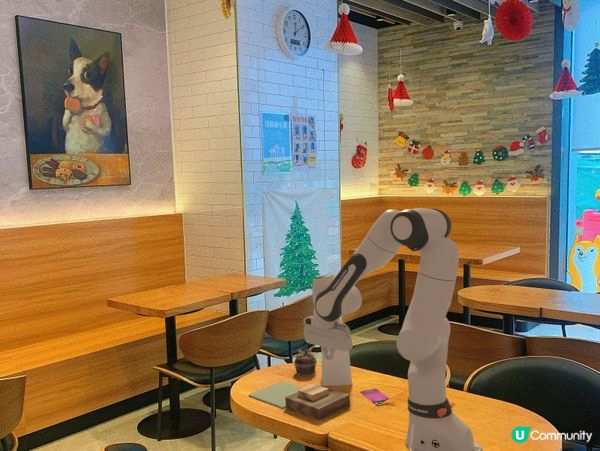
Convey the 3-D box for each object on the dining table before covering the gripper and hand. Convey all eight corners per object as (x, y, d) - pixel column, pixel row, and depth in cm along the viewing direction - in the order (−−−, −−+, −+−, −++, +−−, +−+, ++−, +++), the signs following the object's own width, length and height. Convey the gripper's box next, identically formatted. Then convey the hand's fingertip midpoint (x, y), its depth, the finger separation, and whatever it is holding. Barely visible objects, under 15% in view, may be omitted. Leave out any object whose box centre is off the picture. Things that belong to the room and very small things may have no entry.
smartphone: (377, 408, 201) (376, 405, 201) (359, 392, 216) (359, 390, 216) (395, 404, 204) (395, 402, 204) (376, 389, 218) (376, 387, 218)
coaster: (328, 393, 205) (328, 388, 205) (313, 400, 200) (313, 395, 200) (313, 388, 211) (312, 383, 211) (297, 395, 205) (297, 390, 205)
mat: (317, 393, 217) (317, 392, 217) (283, 408, 204) (282, 407, 204) (282, 382, 231) (282, 381, 231) (248, 395, 219) (248, 394, 219)
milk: (322, 386, 224) (318, 322, 222) (322, 376, 236) (318, 315, 234) (352, 384, 224) (348, 320, 222) (350, 374, 235) (347, 313, 233)
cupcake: (292, 370, 244) (290, 348, 244) (313, 367, 247) (311, 345, 246) (298, 377, 235) (297, 354, 234) (320, 374, 238) (318, 351, 237)
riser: (350, 405, 204) (349, 394, 203) (319, 420, 193) (318, 409, 192) (316, 394, 216) (315, 384, 215) (286, 408, 205) (285, 397, 204)
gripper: (355, 322, 191) (357, 362, 192) (312, 314, 206) (314, 351, 207) (342, 326, 187) (345, 367, 188) (300, 318, 202) (302, 356, 203)
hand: (328, 359), depth 198 cm, fingers closed
